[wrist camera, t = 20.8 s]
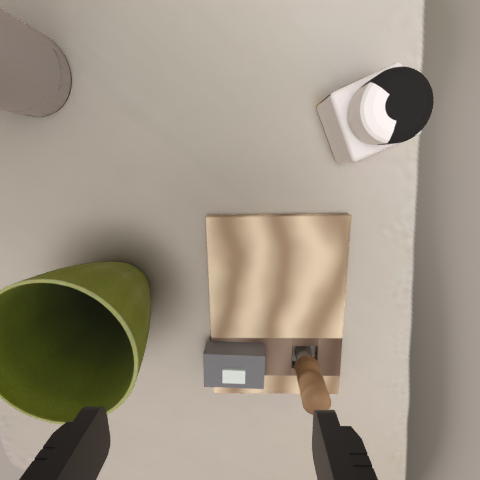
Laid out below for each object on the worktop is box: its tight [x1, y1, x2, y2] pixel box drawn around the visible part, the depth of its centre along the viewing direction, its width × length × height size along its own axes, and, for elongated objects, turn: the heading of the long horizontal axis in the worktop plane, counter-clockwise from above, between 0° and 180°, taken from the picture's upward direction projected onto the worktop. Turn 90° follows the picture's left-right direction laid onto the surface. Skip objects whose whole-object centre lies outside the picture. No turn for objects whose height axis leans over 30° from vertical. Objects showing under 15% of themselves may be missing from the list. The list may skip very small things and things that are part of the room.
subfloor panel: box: [206, 213, 351, 394], centre depth 43 cm, size 18×26×2 cm
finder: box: [204, 341, 265, 389], centre depth 42 cm, size 8×5×3 cm, turn 89°
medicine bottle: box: [317, 62, 433, 162], centre depth 31 cm, size 7×7×12 cm
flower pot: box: [0, 262, 151, 424], centre depth 36 cm, size 15×15×16 cm
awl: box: [295, 346, 331, 414], centre depth 40 cm, size 3×3×10 cm
